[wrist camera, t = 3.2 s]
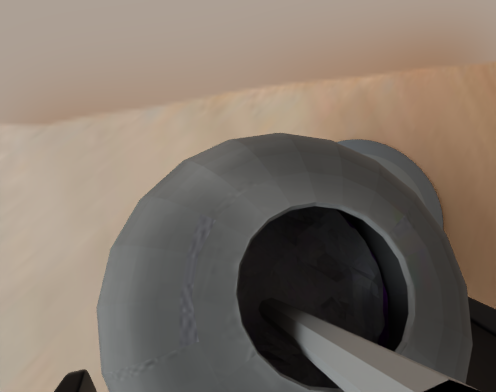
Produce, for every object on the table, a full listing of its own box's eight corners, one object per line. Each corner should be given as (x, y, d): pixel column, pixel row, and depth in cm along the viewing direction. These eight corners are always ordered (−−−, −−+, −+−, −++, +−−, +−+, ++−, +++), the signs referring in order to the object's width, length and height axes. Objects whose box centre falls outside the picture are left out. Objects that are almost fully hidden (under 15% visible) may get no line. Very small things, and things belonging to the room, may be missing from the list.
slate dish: (442, 292, 20) (457, 291, 19) (289, 290, 19) (295, 288, 18) (419, 151, 23) (430, 142, 22) (285, 144, 22) (289, 134, 21)
